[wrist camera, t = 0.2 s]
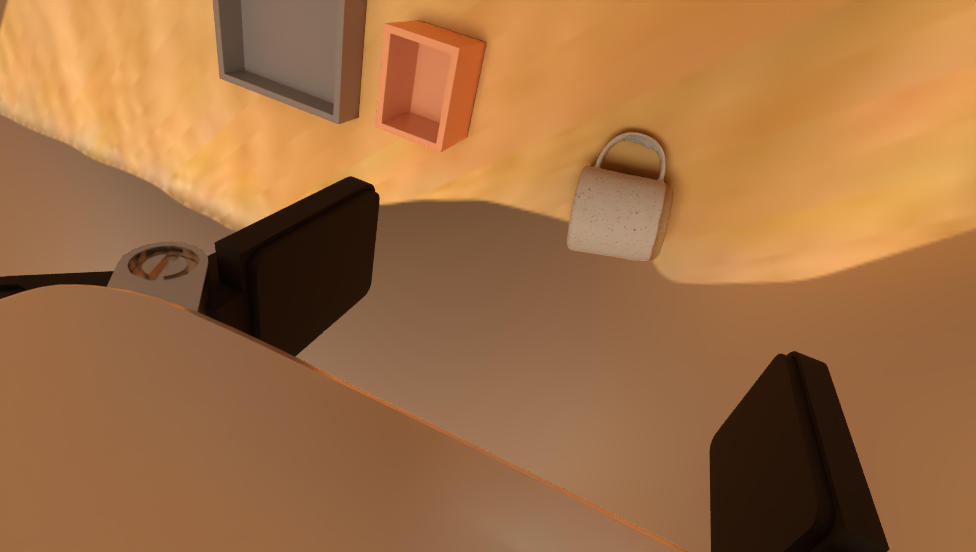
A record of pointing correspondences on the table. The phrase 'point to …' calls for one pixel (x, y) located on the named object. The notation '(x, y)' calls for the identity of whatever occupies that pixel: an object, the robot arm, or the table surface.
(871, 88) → the table surface
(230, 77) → the tray
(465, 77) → the crate small
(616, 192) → the ceramic mug
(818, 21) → the table surface
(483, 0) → the table surface
